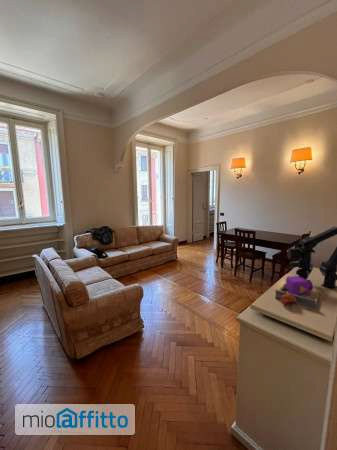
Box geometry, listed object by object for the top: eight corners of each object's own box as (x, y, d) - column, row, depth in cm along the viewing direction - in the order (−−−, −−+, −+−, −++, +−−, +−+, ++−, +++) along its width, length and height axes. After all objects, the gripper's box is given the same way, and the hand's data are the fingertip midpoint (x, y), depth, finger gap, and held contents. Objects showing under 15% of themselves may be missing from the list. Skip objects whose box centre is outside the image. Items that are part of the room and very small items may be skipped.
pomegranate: (298, 312, 110) (292, 294, 116) (300, 306, 105) (294, 288, 111) (283, 312, 112) (278, 294, 118) (284, 306, 107) (279, 288, 113)
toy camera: (316, 295, 122) (317, 279, 120) (296, 298, 119) (297, 282, 117) (301, 287, 132) (302, 272, 130) (283, 290, 129) (283, 275, 128)
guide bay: (284, 286, 134) (284, 279, 133) (320, 295, 121) (320, 287, 120) (275, 298, 120) (275, 290, 119) (314, 310, 107) (315, 301, 106)
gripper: (294, 253, 143) (293, 274, 145) (287, 260, 130) (286, 283, 132) (314, 256, 135) (312, 278, 138) (308, 263, 122) (306, 288, 124)
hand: (304, 281), depth 133 cm, fingers open, 8 cm apart
